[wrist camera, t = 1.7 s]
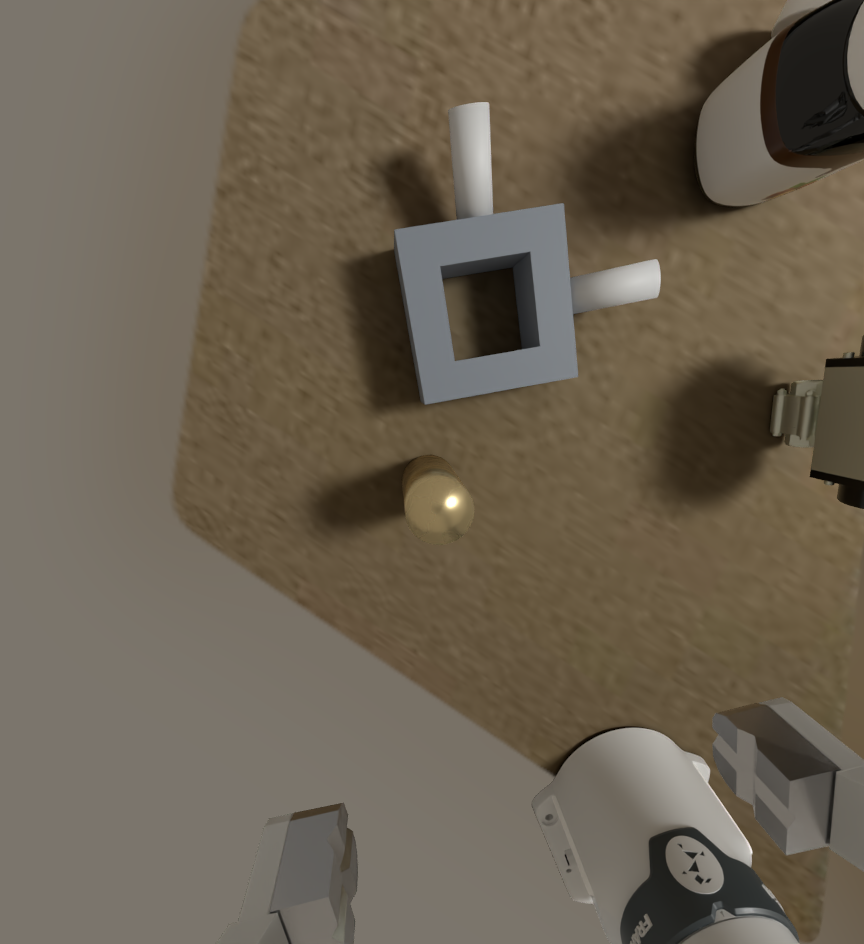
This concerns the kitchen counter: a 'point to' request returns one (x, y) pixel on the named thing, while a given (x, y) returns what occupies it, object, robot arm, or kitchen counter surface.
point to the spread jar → (787, 108)
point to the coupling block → (493, 248)
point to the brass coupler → (435, 501)
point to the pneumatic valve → (828, 424)
